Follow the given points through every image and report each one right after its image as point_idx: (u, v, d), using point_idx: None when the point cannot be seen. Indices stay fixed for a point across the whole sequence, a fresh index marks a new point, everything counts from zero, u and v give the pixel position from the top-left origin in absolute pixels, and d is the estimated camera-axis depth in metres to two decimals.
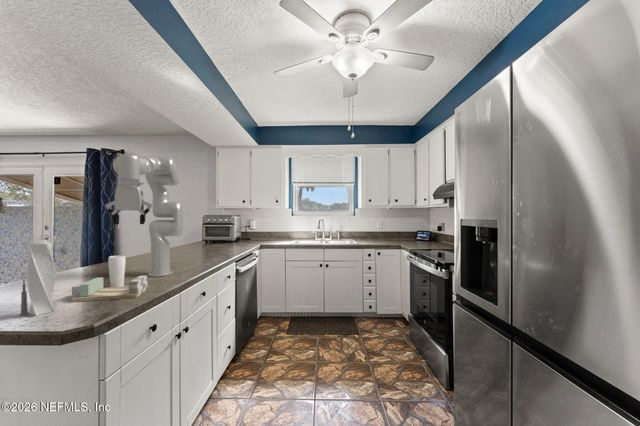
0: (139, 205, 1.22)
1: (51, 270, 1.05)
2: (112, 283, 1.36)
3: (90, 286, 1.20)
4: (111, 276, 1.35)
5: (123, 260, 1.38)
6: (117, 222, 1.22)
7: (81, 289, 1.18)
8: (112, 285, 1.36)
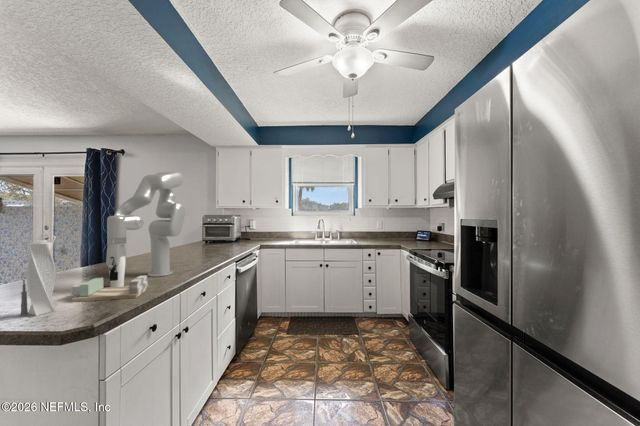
0: (125, 258, 1.43)
1: (51, 270, 1.05)
2: (112, 283, 1.36)
3: (90, 286, 1.20)
4: None
5: (123, 260, 1.38)
6: None
7: (81, 289, 1.18)
8: (112, 285, 1.36)
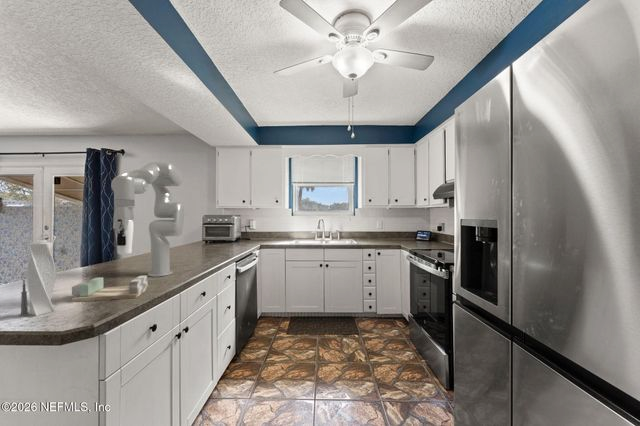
0: None
1: (51, 270, 1.05)
2: (119, 249, 1.25)
3: (90, 286, 1.20)
4: None
5: (131, 224, 1.27)
6: None
7: (81, 289, 1.18)
8: (119, 251, 1.25)
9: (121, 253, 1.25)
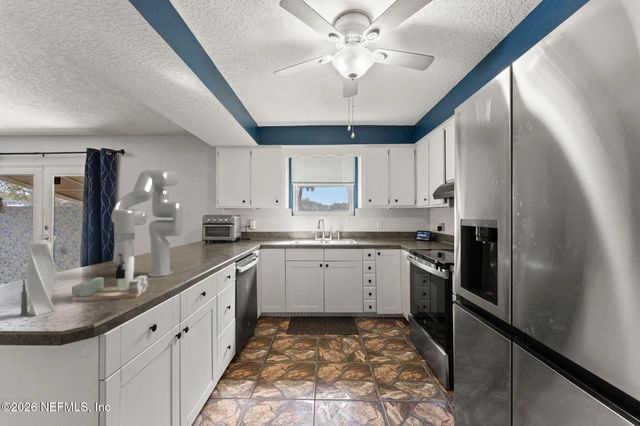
0: None
1: (51, 270, 1.05)
2: (120, 285, 1.26)
3: (90, 286, 1.20)
4: None
5: (132, 260, 1.28)
6: None
7: (81, 289, 1.18)
8: (120, 287, 1.26)
9: (122, 290, 1.26)
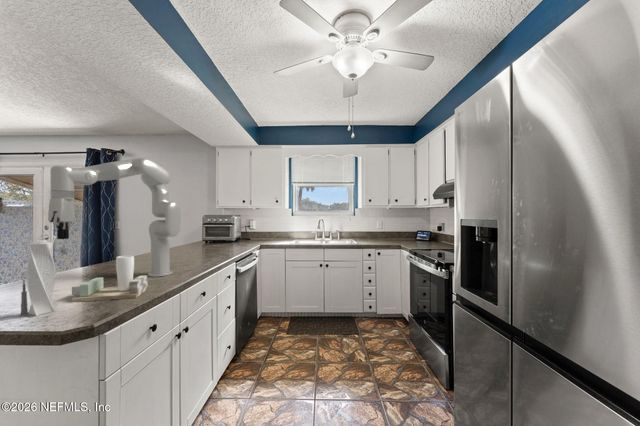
0: (74, 216, 1.27)
1: (51, 270, 1.05)
2: (120, 285, 1.26)
3: (90, 286, 1.20)
4: (119, 278, 1.26)
5: (132, 260, 1.28)
6: None
7: (81, 289, 1.18)
8: (120, 287, 1.26)
9: (122, 290, 1.26)
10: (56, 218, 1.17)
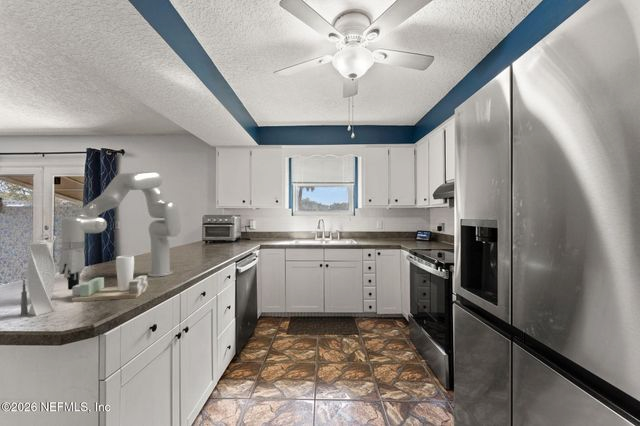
0: (84, 265, 1.28)
1: (51, 270, 1.05)
2: (120, 285, 1.26)
3: (90, 286, 1.20)
4: (119, 278, 1.26)
5: (132, 260, 1.28)
6: None
7: (82, 289, 1.18)
8: (120, 287, 1.26)
9: (122, 290, 1.26)
10: (67, 270, 1.18)
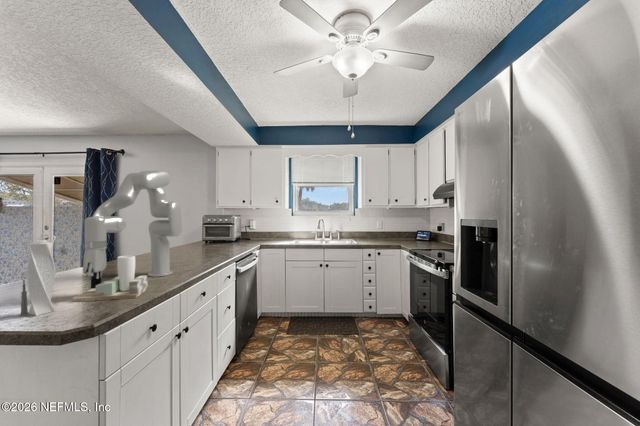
0: None
1: (51, 270, 1.05)
2: (121, 285, 1.26)
3: (113, 285, 1.22)
4: (120, 278, 1.26)
5: (133, 260, 1.28)
6: None
7: (105, 288, 1.20)
8: (121, 287, 1.26)
9: (123, 290, 1.26)
10: (90, 269, 1.20)
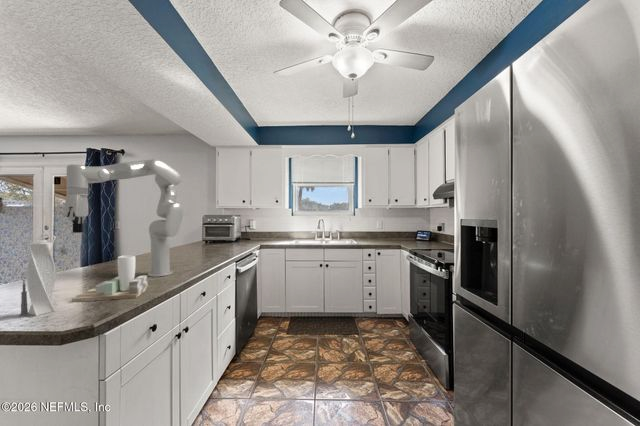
0: None
1: (51, 270, 1.05)
2: (121, 285, 1.26)
3: (113, 285, 1.22)
4: (120, 278, 1.26)
5: (133, 260, 1.28)
6: None
7: (105, 288, 1.20)
8: (121, 287, 1.26)
9: (123, 290, 1.26)
10: (72, 213, 1.26)
